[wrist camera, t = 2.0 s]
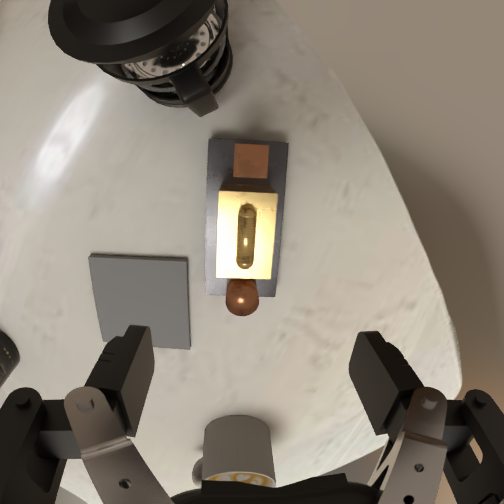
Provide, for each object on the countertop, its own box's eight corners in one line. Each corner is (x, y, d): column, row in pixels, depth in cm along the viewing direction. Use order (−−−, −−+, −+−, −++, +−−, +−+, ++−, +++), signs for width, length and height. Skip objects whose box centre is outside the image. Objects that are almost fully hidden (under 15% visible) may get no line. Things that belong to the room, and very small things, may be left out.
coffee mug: (252, 407, 39) (257, 465, 30) (279, 440, 42) (286, 490, 33) (173, 429, 40) (165, 481, 31) (206, 459, 44) (204, 506, 34)
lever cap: (221, 183, 27) (218, 193, 22) (270, 186, 27) (279, 196, 22) (219, 257, 29) (215, 283, 24) (265, 259, 30) (272, 284, 24)
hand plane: (210, 139, 27) (202, 136, 20) (284, 143, 28) (301, 142, 21) (206, 286, 32) (200, 324, 25) (272, 288, 33) (282, 326, 26)
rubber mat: (91, 254, 30) (88, 257, 30) (187, 258, 31) (186, 261, 30) (105, 337, 34) (103, 341, 33) (190, 345, 35) (189, 349, 34)
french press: (120, 46, 23) (-33, -54, 2) (204, 3, 22) (166, -170, 1) (168, 140, 27) (-2, 143, 6) (257, 95, 26) (326, -38, 5)
